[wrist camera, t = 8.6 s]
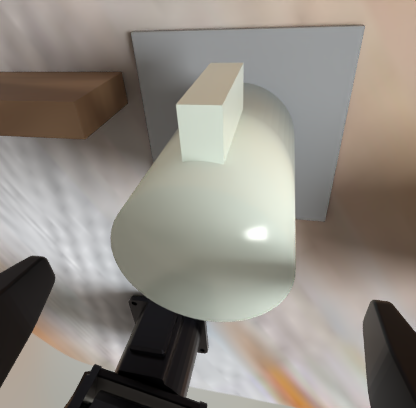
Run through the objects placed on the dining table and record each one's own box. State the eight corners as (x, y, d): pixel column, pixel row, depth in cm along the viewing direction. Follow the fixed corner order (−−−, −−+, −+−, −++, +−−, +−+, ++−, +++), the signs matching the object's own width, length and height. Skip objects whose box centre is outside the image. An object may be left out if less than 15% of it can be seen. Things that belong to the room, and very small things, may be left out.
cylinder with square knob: (288, 186, 18) (286, 333, 11) (190, 180, 19) (130, 308, 12) (305, 43, 14) (317, 129, 7) (177, 45, 15) (71, 121, 8)
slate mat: (324, 218, 19) (324, 221, 19) (162, 204, 21) (160, 207, 21) (363, 25, 13) (364, 26, 13) (133, 31, 15) (130, 32, 15)
